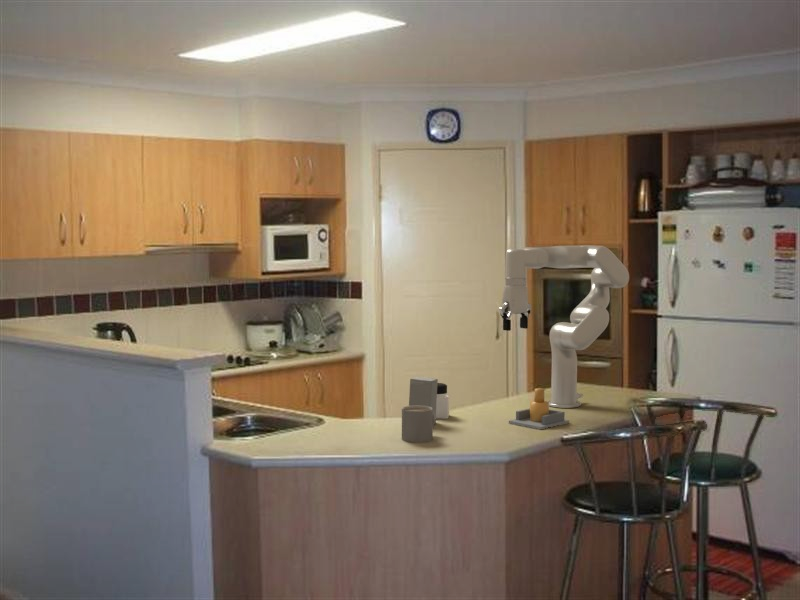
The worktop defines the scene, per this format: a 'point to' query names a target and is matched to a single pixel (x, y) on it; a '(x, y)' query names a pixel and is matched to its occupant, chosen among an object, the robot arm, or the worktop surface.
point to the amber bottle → (538, 406)
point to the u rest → (547, 420)
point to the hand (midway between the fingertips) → (515, 329)
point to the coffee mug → (417, 423)
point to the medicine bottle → (442, 402)
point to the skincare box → (423, 392)
